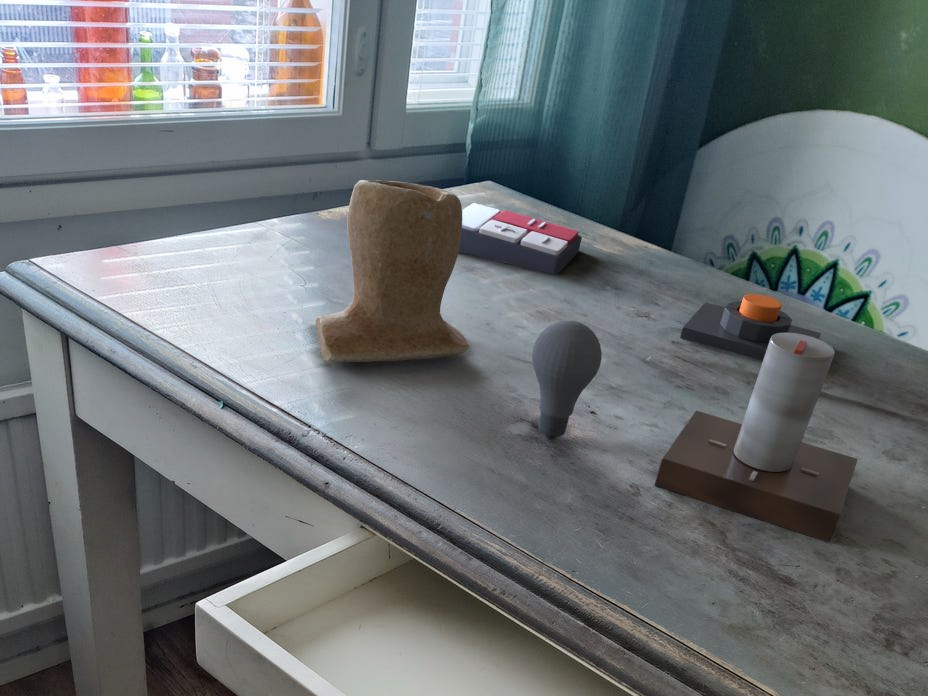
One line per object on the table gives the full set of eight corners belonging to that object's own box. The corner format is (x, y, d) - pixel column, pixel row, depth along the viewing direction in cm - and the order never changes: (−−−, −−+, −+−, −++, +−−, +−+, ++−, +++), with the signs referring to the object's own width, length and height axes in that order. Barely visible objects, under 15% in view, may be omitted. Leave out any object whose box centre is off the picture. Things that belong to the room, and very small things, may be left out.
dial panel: (846, 484, 83) (858, 456, 82) (828, 542, 75) (841, 512, 74) (688, 435, 87) (696, 408, 86) (654, 485, 79) (662, 456, 78)
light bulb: (535, 416, 87) (557, 304, 80) (592, 437, 85) (619, 323, 79) (506, 437, 83) (526, 321, 77) (565, 460, 81) (591, 342, 75)
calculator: (562, 251, 114) (442, 216, 116) (553, 288, 116) (436, 253, 119) (584, 229, 122) (472, 197, 125) (576, 264, 125) (466, 232, 127)
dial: (740, 438, 82) (778, 323, 76) (797, 455, 81) (840, 340, 75) (727, 459, 79) (766, 341, 73) (786, 478, 77) (831, 359, 71)
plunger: (779, 316, 105) (784, 300, 104) (772, 327, 102) (778, 310, 101) (742, 307, 106) (747, 290, 105) (734, 317, 103) (739, 300, 102)
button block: (814, 352, 108) (827, 316, 106) (799, 381, 101) (812, 344, 98) (699, 321, 112) (709, 285, 109) (677, 347, 104) (687, 310, 102)
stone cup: (431, 322, 101) (448, 165, 92) (480, 370, 93) (504, 203, 84) (288, 328, 96) (291, 162, 86) (327, 380, 87) (335, 202, 78)
